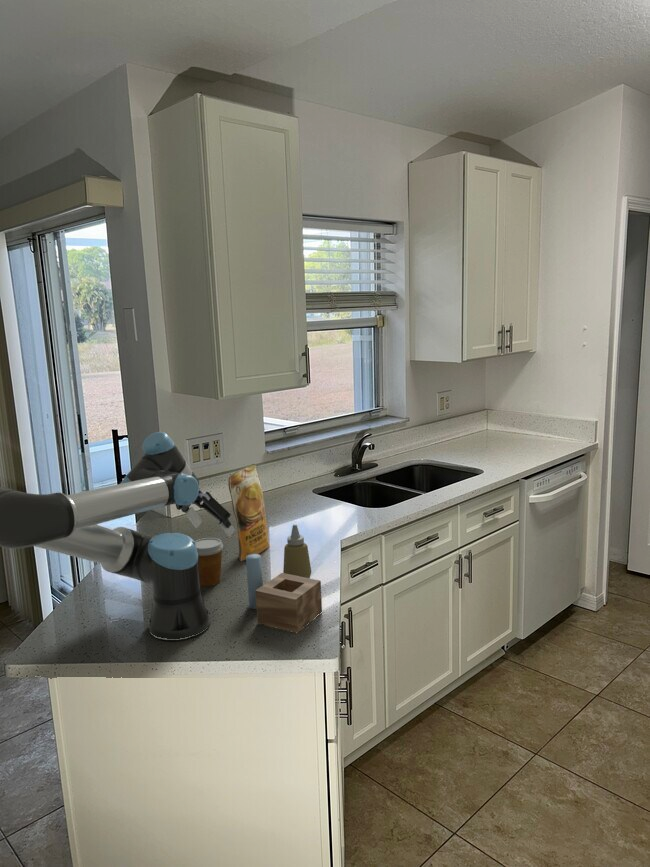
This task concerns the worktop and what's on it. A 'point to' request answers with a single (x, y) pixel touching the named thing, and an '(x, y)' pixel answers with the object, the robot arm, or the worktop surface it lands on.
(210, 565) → the disposable coffee cup
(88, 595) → the worktop surface
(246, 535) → the pancake mix bag
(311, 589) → the socket block
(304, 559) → the squeeze bottle
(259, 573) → the dowel
